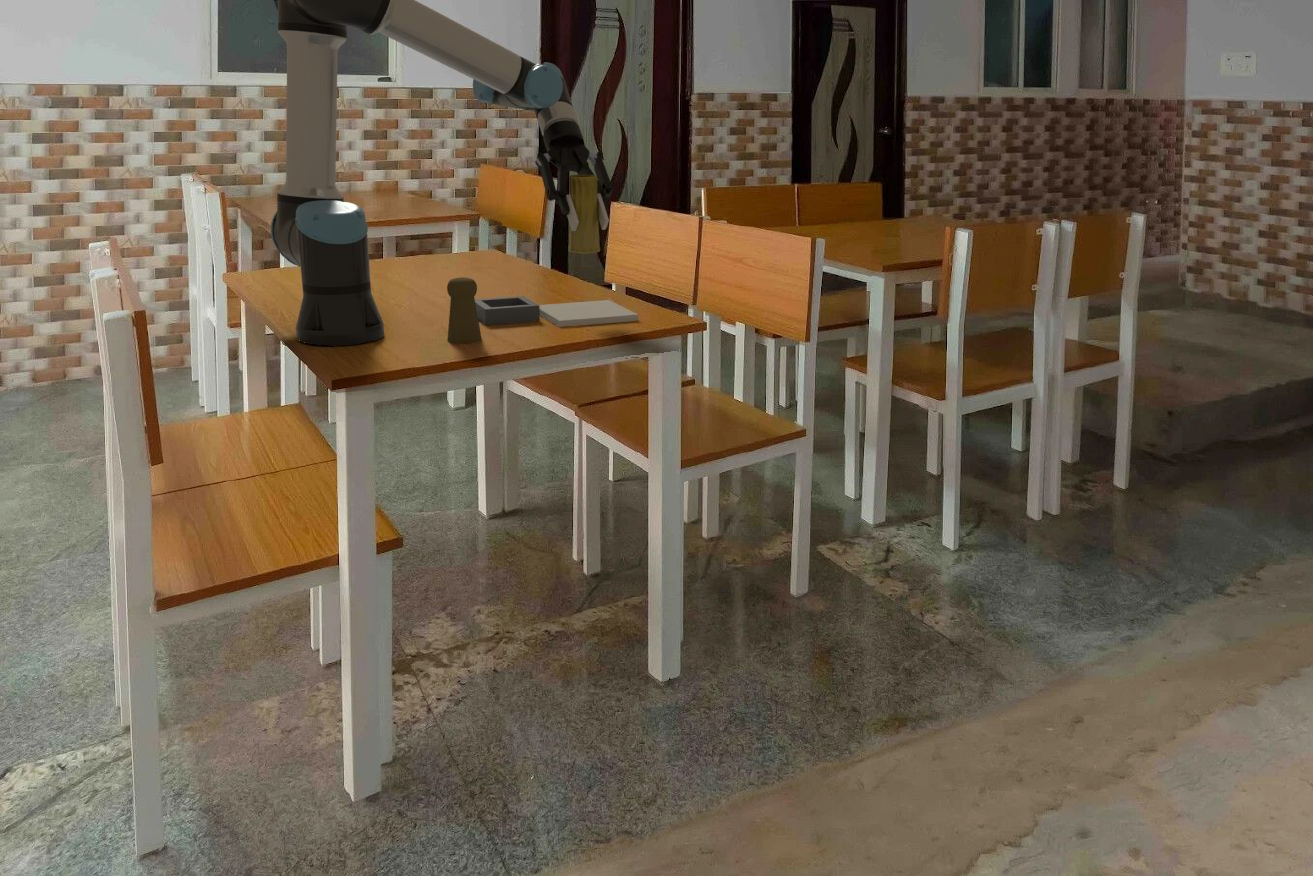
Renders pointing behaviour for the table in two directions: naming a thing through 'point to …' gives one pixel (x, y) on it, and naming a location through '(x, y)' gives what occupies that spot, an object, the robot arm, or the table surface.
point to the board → (586, 313)
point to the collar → (507, 310)
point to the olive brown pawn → (463, 311)
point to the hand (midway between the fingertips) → (590, 225)
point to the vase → (584, 214)
